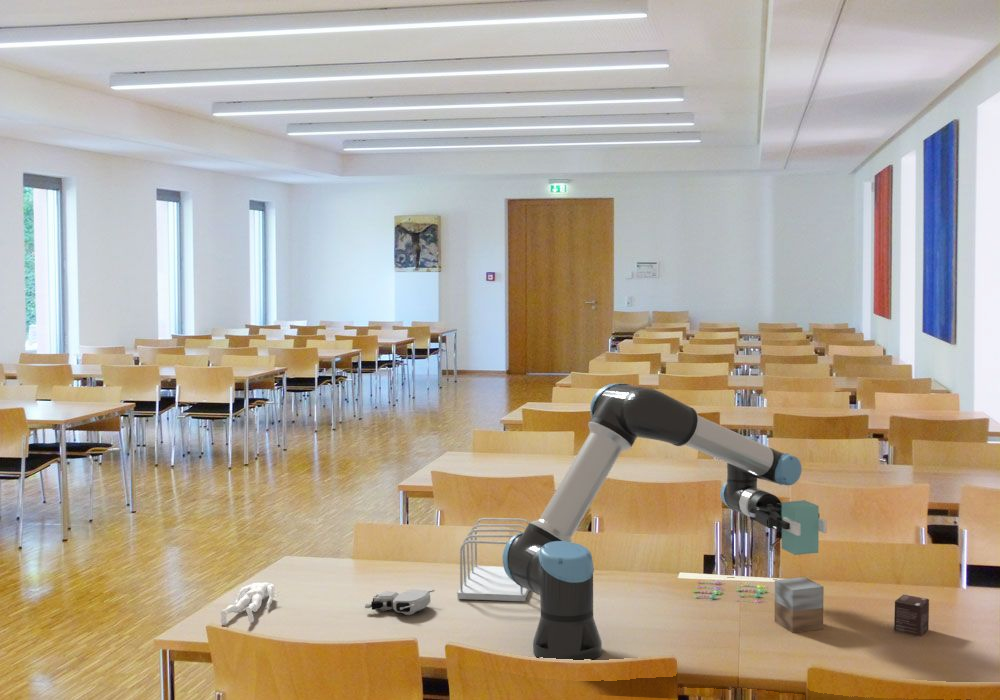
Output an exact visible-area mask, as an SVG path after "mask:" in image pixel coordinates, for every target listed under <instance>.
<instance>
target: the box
mask: <svg viewBox="0 0 1000 700" xmlns="http://www.w3.org/2000/svg"><path fill="white" fill-rule="evenodd" d="M929 614H930V599H929V598H925V597H921V596H920V597H919V596H913V595H908V594H902V595H901V596H899V597H898V598H897V599H895V600H894V618H893V619H894V622H893V623H894V628H893V629H894V630H893V631H894V632H895V633H898V634H904V635H910V636H915V637H919V638H920V637H921V636H922V635H924V633H926V632H927V631H928V630H929V623H930V622H929V621H930V620H929V618H930V615H929Z"/></svg>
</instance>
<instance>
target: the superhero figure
mask: <svg viewBox="0 0 1000 700" xmlns="http://www.w3.org/2000/svg"><path fill="white" fill-rule="evenodd" d="M275 590H276V587H275V585H274V584H273V583H269V582H254V583H251V584H249V585H245V586H243V587H241V588H240V589H239V591H238V592H237V594H235V597H236V598H234V600H235V601H234V604H229V605H228V606H227V607H226V608H225V609H222V610H221V611H220V623H221V626H227V624H228V620H227V615H228V614H231V613H232V614H233V613H234V614H237V613H240V612H242V611H244V609H245V612H246V613H247V621H248V622H249V623H251V624H252V623H253V622H254V620H255V619H254V618H255V617H254V615H253V612H255V613H256V612H258V610H259V609H260V608H261V606H262V604H263V603H262V602H263V600H264V599H266V598H267V597H268V599H267V602H266V604H265V607H264V609H266V611H269V610H270V606H271V604H272V602H273V601H274V600H273V599H274V598H276V597H279V594H278V593H280V592H281V590H280V591H275ZM275 594H277V595H275Z"/></svg>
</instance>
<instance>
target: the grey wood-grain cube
mask: <svg viewBox="0 0 1000 700" xmlns="http://www.w3.org/2000/svg"><path fill="white" fill-rule="evenodd" d="M781 579H782V580H775V582H774V622H775V623H776V624H778V625H779V626H781V627H783V628H784V629H786V630H787V631H788V632H791V633H792V634H793V633H801V632H809V631H816V630H824V598H825V597H824V595H825V594H824V586H823V585H821V584H820V583H817V582H815V581H814V580H811V578H810V579H809V578H808V577H805V576H803V577H800V576H799V577H792V578H781Z"/></svg>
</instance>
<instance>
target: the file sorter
mask: <svg viewBox="0 0 1000 700" xmlns="http://www.w3.org/2000/svg"><path fill="white" fill-rule="evenodd" d="M482 521H498V522H499V521H501V522H502V521H504V522H505V521H506V522H507V521H508V522H525V523H526V524H528V525H529V523H530V522H531V521H529V520H527V518H526V519H525V518H513V517H512V518H511V517H510V518H509V517H508V518H507V517H506V518H504V517H500V518H499V517H496V518H495V517H483V518H482V517H481V518H479V519H478V520H477V521H476V522H475V525H474V526H473V527H472V528H471V529H470V531H469V532H468V534H467V536H466V537H465V538H464V539H463V540H462V541H463V542H462V545H461V546H460V550H459V571H460V572H459V579H460V580H459V582H460V588H459V589H458V591H457V599H458V600H476V601H477V600H478V601H479V600H483V601H502V602H503V601H504V602H505V601H506V602H526V600H527V597H528V594H529V592H530V590H528V589H526V588H523V587H520V586H519V585H518V584H516V583H515V582H514V581H512V580H511V579H510V578H509V577H508V576H507V574H506V572H505V570H504V566H495V565H494V566H493V565H492V566H491V565H478V544H491V545H495V544H496V545H506V544H507V543H508V541H502V540H501V541H498V540H496V541H495V540H478V538H512V537H513V536H515V535H516V534H478V533H479V532H482V533H485V532H491V533H492V532H493V533H494V532H495V533H496V532H502V533H503V532H504V533H506V532H507V533H508V532H509V533H510V532H511V533H515V532H516V533H518V534H520V533H524V531H525V530H526V528H527V526H526V525H524V524H518V523H517V524H516V523H515V524H514V523H512V524H511V523H510V524H509V523H508V524H506V523H500V524H499V523H481V522H482ZM480 527H490V528H480ZM491 527H502V528H491ZM503 527H504V528H503ZM505 527H507V528H505ZM508 527H513V528H508ZM515 527H517V528H521V529H522V528H523V530H524V531H523V530H520V529H517V528H515ZM478 528H479V529H478ZM477 532H478V533H477ZM473 533H474V534H473ZM473 538H474V540H473ZM470 559H471V562H470ZM466 561H467V565H466ZM470 563H471V566H470ZM474 563H475V565H474ZM466 566H467V568H466ZM470 567H471V569H470Z"/></svg>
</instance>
